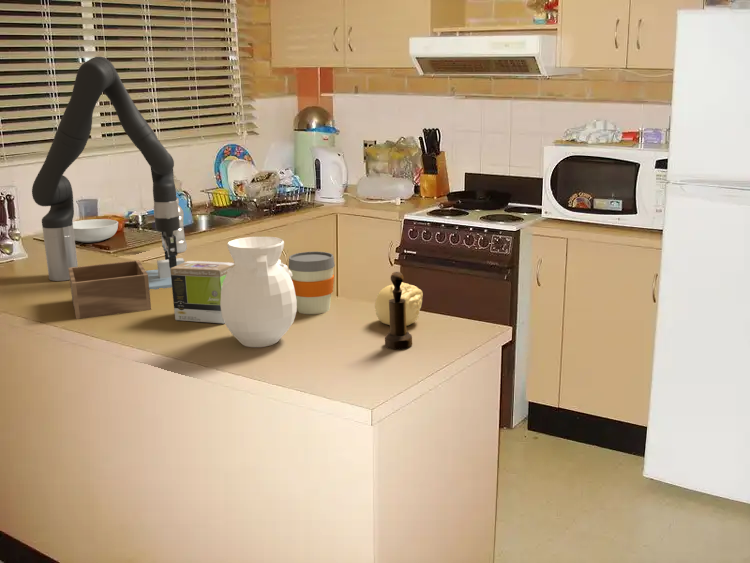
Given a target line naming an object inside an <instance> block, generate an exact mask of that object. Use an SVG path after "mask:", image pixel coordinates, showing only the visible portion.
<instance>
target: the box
mask: <svg viewBox="0 0 750 563" xmlns="http://www.w3.org/2000/svg"><path fill="white" fill-rule="evenodd" d="M68 269H69V277H70V280H69V283H70V284H69V285H70V292H71V300H72V304H73V310H74V315H75V319H76V320H79V319H86V318H94V317H101V316H110V315H118V314H117V313H119V314H126V312H127V313H133V312H132V311H135V312H141V311H142V310H143V311H151V310H152V303H151V302H152V301H151V293H150V291H151V290H149V281H148V274H147V273H146V271H147V270H146V269H145V268H144V266H143V264H142V263H141V261H140V260H137V259H136V260H129V261H121V262H118V261H117V262H111V263H110V262H109V263H102V264H91V265H81V266H78V267H71V268H68Z"/></svg>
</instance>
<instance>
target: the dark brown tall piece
mask: <svg viewBox="0 0 750 563" xmlns="http://www.w3.org/2000/svg"><path fill="white" fill-rule="evenodd" d="M404 278H405V277H404V275H403V273H402V272H400V271H393V272H392V273H391V275H390V282H391V283H392V284H393V285H394V290H393V291H392V292H393V296H394V299H391V300H389V315H390V325H389V332H388V333H387V334H385V336H384V347H385V348H387V349H389V350H404V349H405V350H406V349H409V348H410V347H412V345H413V335H412V334H411V333H410V332H409V331H408V330H407V326H406V300H405V299H401V295H402V290H401V289H400V285H401V283H402V282H403V281H404ZM403 283H404V282H403Z"/></svg>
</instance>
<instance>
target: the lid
mask: <svg viewBox="0 0 750 563" xmlns="http://www.w3.org/2000/svg"><path fill="white" fill-rule="evenodd" d="M176 262H177V265H179V264H182V263H184V262H186V261H185V259H184V258H183V257H180V258H179V257H176ZM156 264H157V265H156V266H157V269H151V270H149V269H148V270H145V271H146V273H147V274H148V281H149V291H151V290H150V289H154V290H160V289H159V288H163V289H170V288H171V289H172V282H171V271H170V267H169V259H168V260H165V259H161V260H160V259H159V260H157V261H156Z"/></svg>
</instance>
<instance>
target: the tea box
mask: <svg viewBox="0 0 750 563" xmlns="http://www.w3.org/2000/svg"><path fill="white" fill-rule="evenodd" d="M234 266H235V263H234V261H211V260H210V261H208V260H207V261H206V260H187V261H185V262H184V263H182V264H179V265H177V266H175V267H172V268H170V271H171V282H172V287H171V290H172V292H171V293H172V300H173V301H172V302H173V311H174V319H175V321H183V322H184V321H185V322H186V321H187V322H199V323H212V324H225V322H224V320H223V318H222V313H221V306H220V301H221V290H222V285H223V284H222V283H223V281H224V279H225V278H226V274H227V271H228V269H229V268H233V267H234Z"/></svg>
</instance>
